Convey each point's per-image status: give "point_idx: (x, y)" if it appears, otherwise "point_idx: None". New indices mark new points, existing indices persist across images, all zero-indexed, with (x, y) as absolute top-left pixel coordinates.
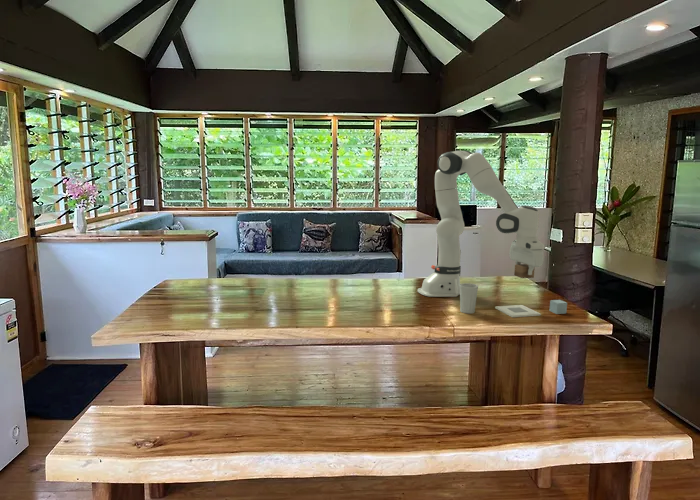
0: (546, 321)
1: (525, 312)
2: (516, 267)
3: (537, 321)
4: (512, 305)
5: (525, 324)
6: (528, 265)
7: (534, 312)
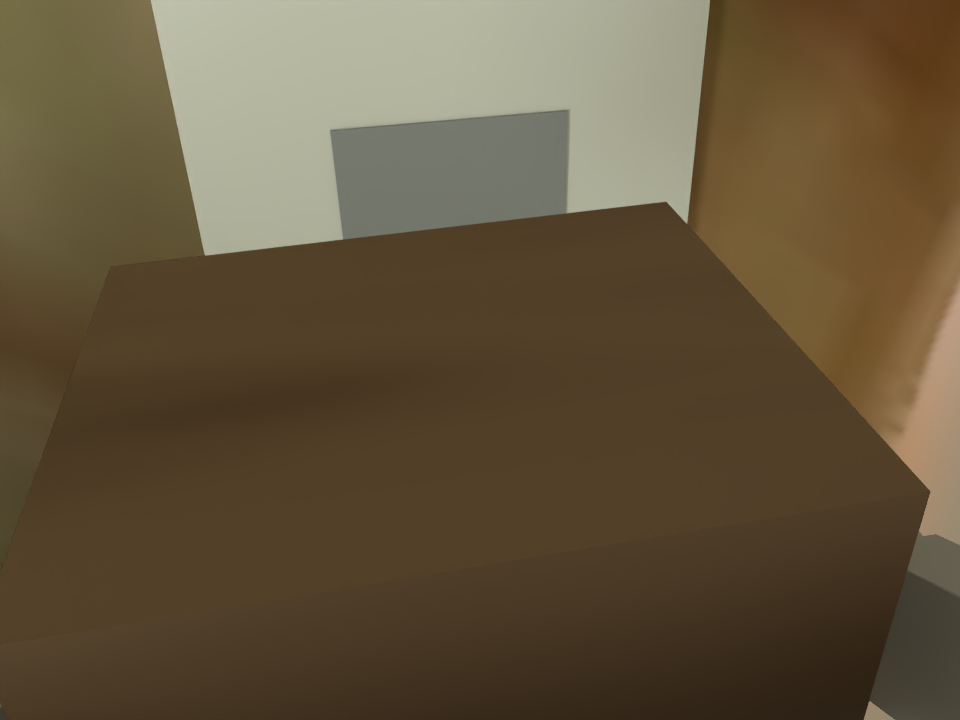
0: (950, 33)
1: (596, 172)
2: None
3: (897, 161)
4: (193, 188)
5: (916, 353)
6: (499, 681)
7: (632, 24)
